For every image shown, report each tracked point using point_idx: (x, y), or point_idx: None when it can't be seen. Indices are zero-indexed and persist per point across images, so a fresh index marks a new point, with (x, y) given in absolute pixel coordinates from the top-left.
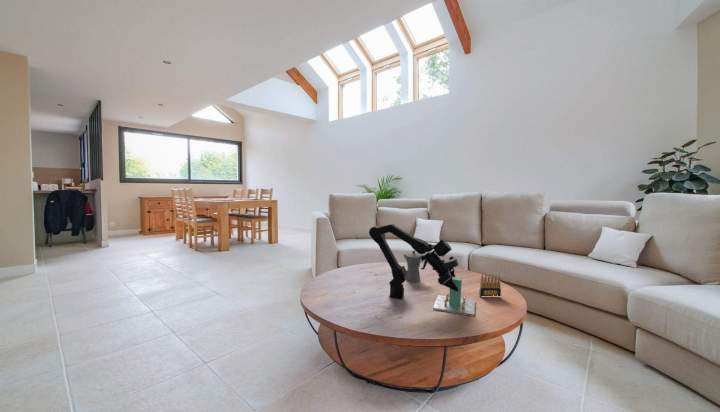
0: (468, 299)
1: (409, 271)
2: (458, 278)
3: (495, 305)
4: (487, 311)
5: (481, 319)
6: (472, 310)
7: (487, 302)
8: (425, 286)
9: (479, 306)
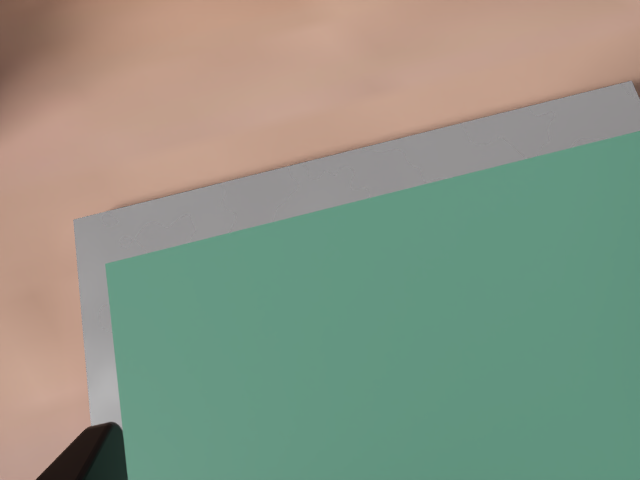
0: (92, 311)
1: None
2: (410, 373)
3: (70, 8)
4: (325, 25)
5: (637, 10)
6: (509, 138)
7: (14, 102)
8: None
9: (214, 142)
